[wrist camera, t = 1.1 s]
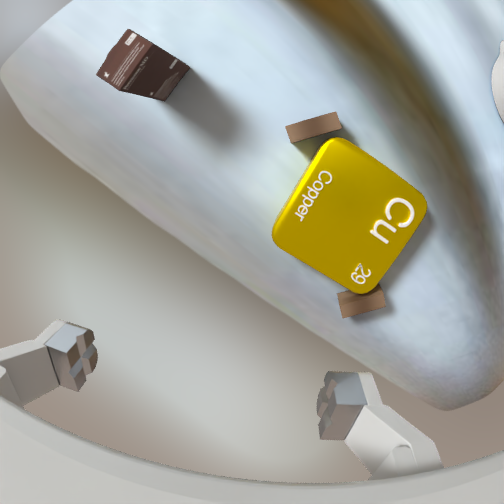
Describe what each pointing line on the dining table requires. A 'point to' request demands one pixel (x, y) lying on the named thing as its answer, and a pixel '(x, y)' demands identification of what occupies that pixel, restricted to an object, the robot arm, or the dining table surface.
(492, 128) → the dining table surface
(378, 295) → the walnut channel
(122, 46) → the box
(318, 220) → the element tile
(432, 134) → the dining table surface
